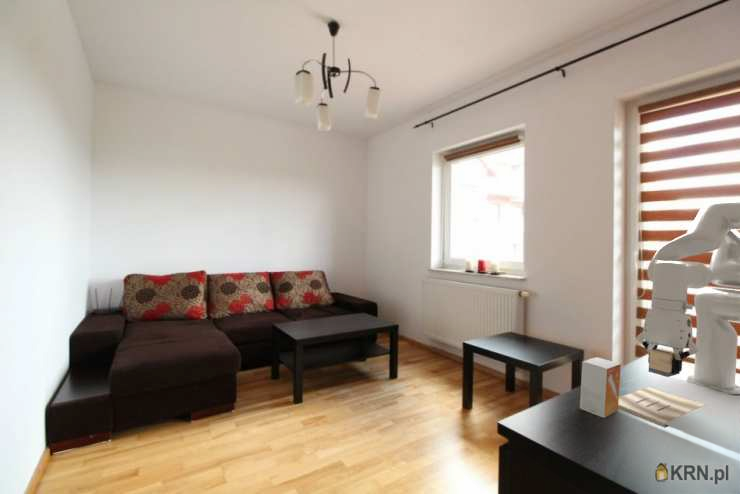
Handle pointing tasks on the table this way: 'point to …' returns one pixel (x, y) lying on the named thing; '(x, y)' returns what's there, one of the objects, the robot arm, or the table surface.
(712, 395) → the table surface
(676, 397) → the board
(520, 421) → the table surface
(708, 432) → the table surface
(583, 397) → the small box
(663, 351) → the block
